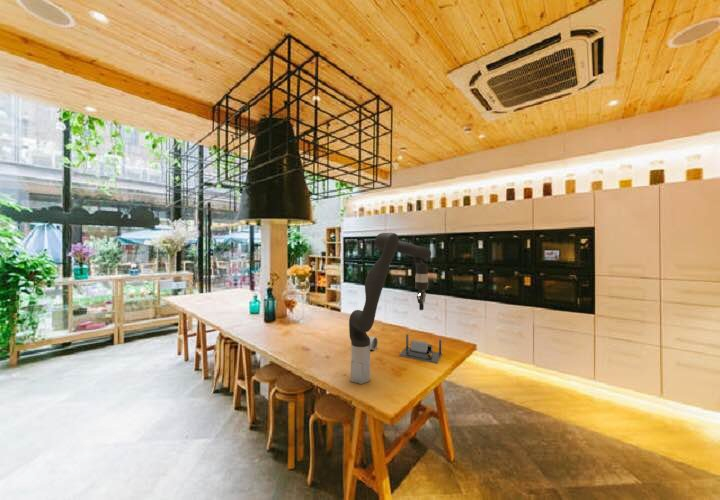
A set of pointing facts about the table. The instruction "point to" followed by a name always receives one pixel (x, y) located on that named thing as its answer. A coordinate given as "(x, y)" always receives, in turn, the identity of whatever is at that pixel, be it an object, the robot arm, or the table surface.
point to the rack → (428, 357)
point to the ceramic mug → (373, 343)
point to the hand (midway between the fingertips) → (421, 309)
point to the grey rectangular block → (419, 346)
